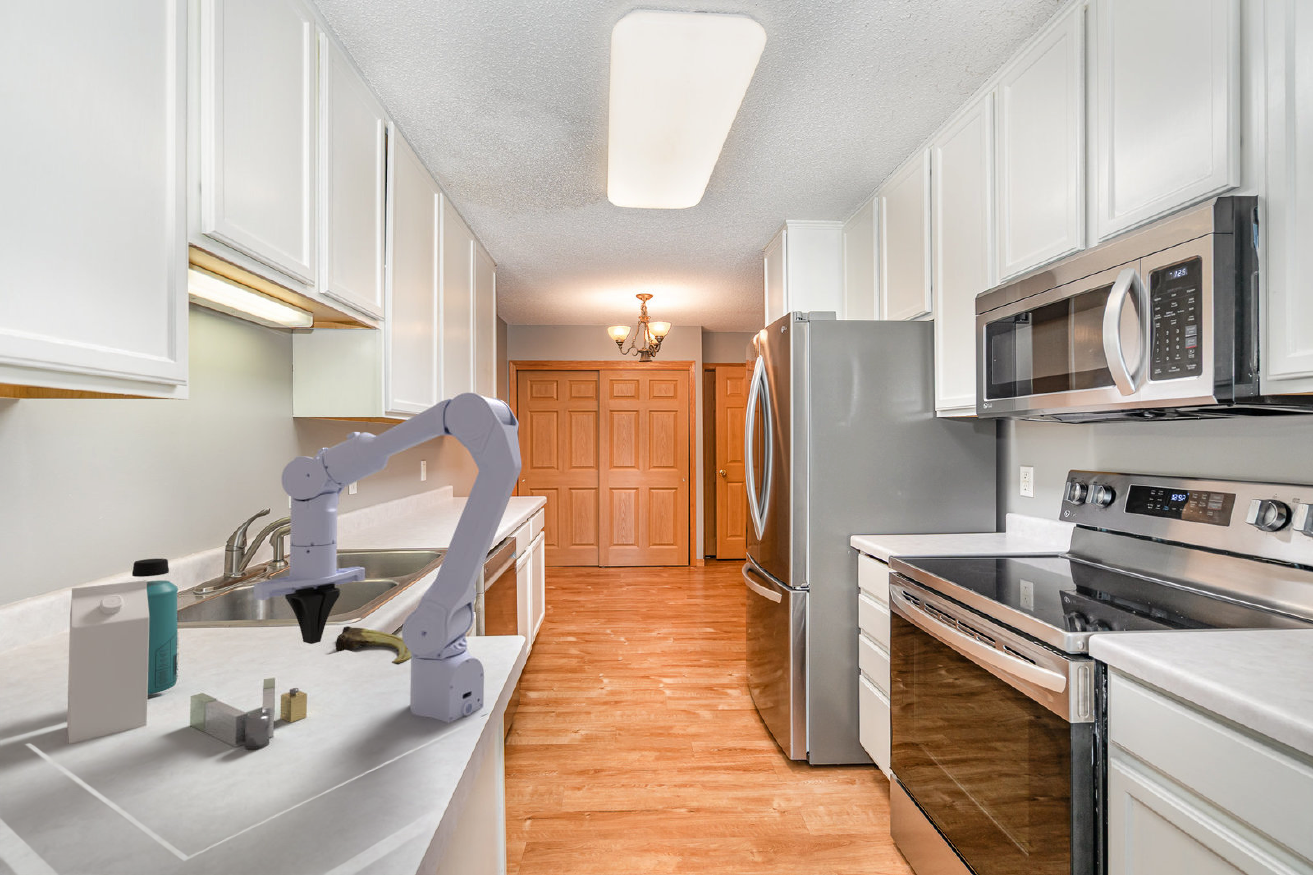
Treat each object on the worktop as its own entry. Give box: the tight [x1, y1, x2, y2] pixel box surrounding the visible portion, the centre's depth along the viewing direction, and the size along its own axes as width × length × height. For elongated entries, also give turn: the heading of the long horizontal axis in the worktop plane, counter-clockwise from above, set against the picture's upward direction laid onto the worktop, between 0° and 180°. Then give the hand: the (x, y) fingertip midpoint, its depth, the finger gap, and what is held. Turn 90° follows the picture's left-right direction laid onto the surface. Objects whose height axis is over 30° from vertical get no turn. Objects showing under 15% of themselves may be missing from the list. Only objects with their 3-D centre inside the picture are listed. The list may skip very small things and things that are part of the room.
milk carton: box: [66, 579, 149, 744], centre depth 79 cm, size 7×7×19 cm
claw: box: [335, 626, 411, 664], centre depth 114 cm, size 20×10×3 cm, turn 65°
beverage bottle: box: [131, 558, 179, 696], centre depth 91 cm, size 6×7×20 cm
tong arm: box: [261, 677, 276, 738], centre depth 80 cm, size 11×1×4 cm, turn 31°
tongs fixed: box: [189, 692, 270, 751], centre depth 76 cm, size 14×3×4 cm, turn 59°
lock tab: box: [279, 687, 308, 723], centre depth 81 cm, size 2×2×4 cm
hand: (311, 641), depth 87 cm, fingers closed
